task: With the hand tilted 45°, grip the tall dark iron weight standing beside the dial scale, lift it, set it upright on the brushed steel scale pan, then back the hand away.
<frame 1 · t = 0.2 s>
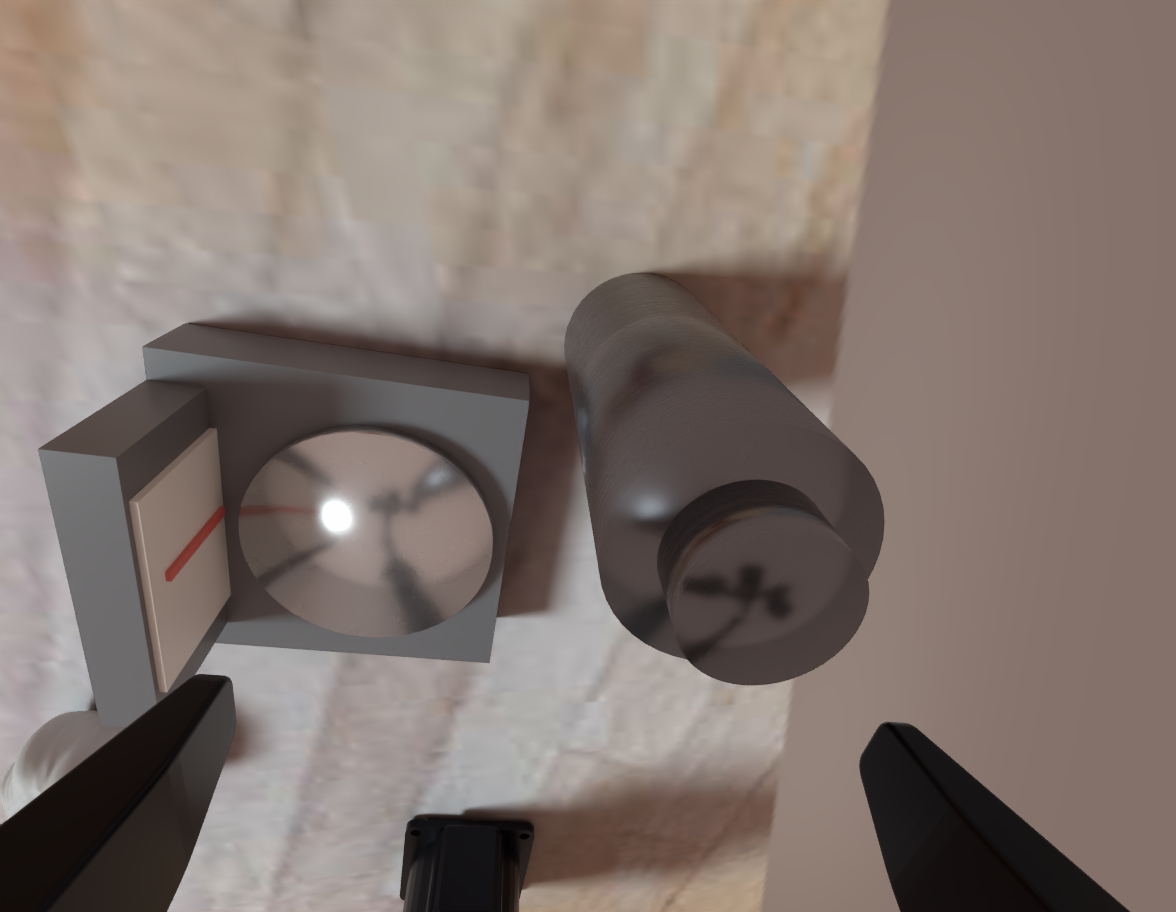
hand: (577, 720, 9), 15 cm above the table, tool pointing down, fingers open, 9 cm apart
scale pan: (371, 539, 21), point 3 cm above the table, slide at 0.2 cm
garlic: (122, 730, 28), on the table
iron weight: (637, 347, 21), on the table
scale: (360, 491, 23), on the table
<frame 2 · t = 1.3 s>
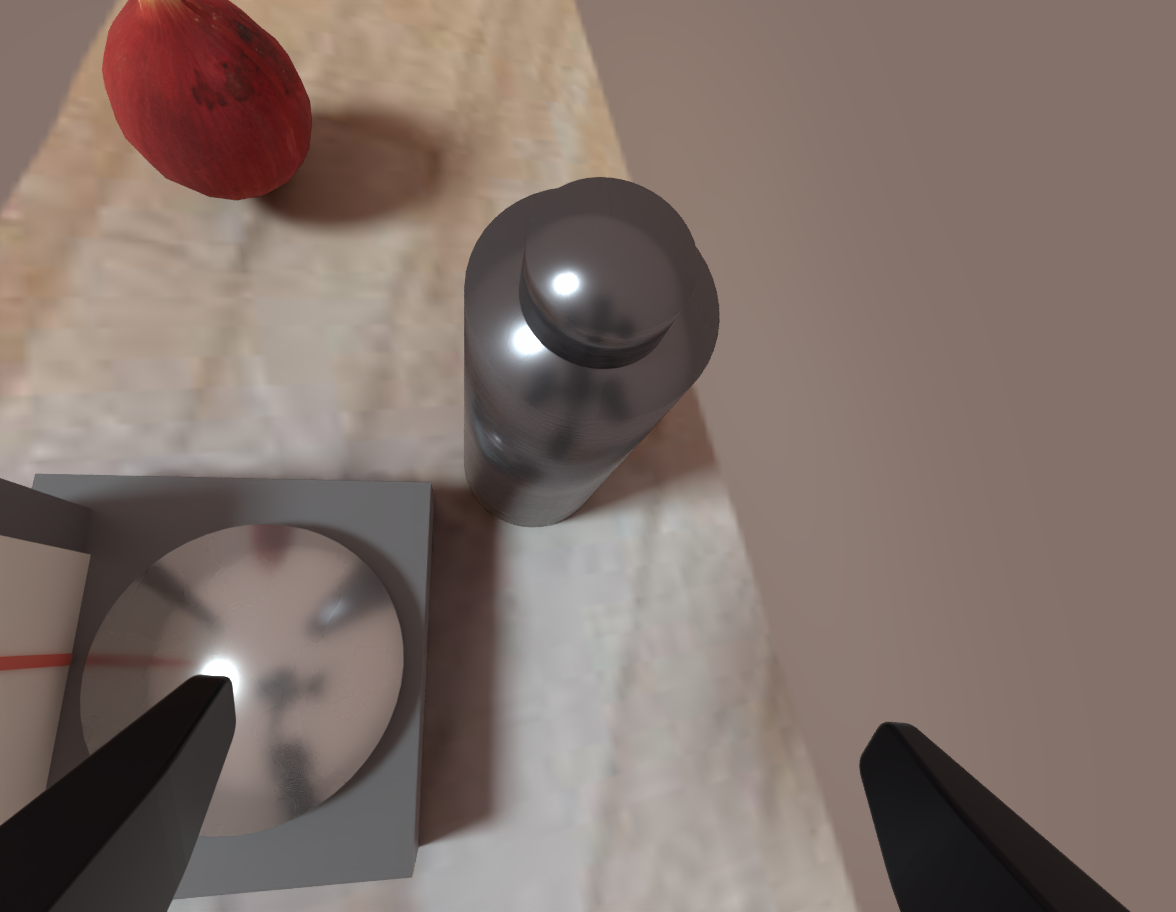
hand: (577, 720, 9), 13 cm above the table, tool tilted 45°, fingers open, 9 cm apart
scale pan: (253, 669, 17), point 3 cm above the table, slide at 0.2 cm
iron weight: (532, 460, 23), on the table
onion: (252, 183, 24), on the table
scale: (247, 665, 20), on the table
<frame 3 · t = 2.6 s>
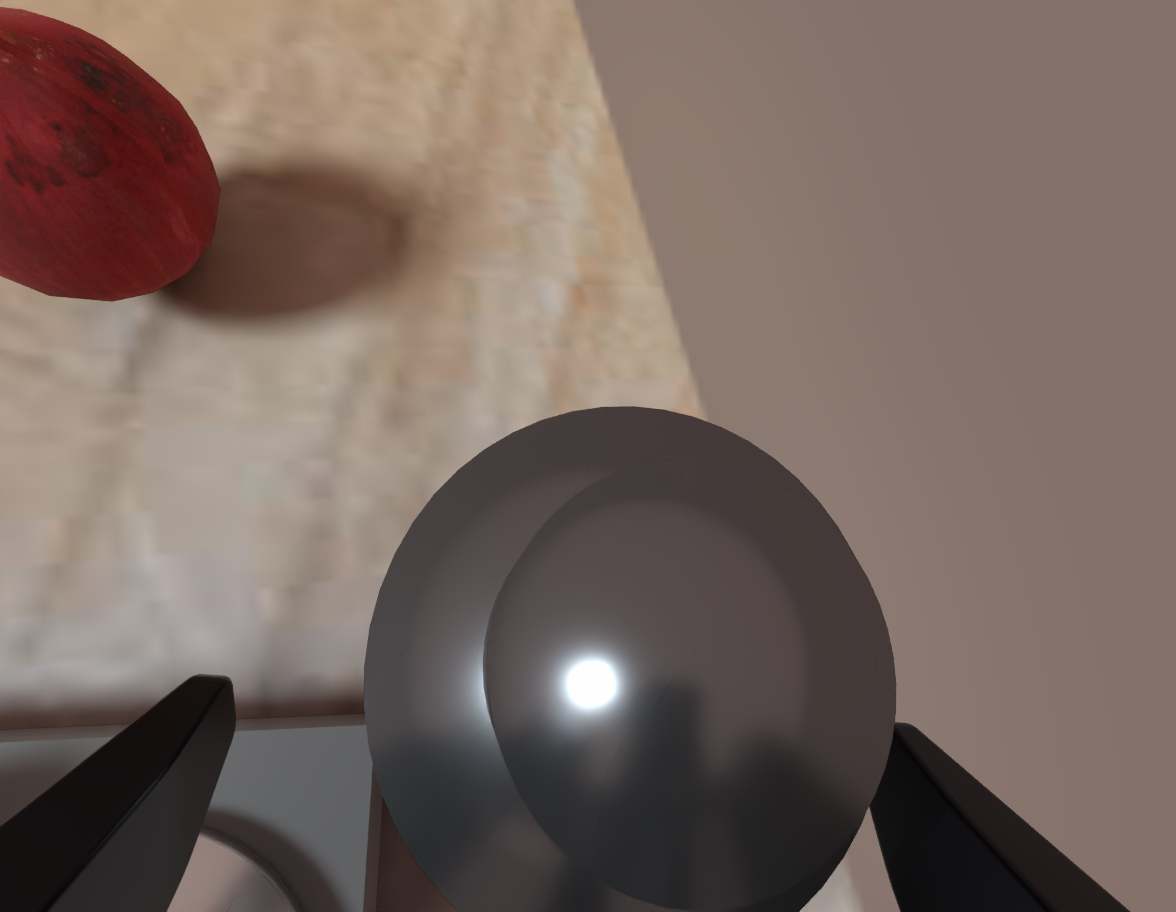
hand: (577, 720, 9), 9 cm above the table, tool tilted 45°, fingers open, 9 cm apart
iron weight: (524, 647, 17), on the table
onion: (150, 265, 18), on the table
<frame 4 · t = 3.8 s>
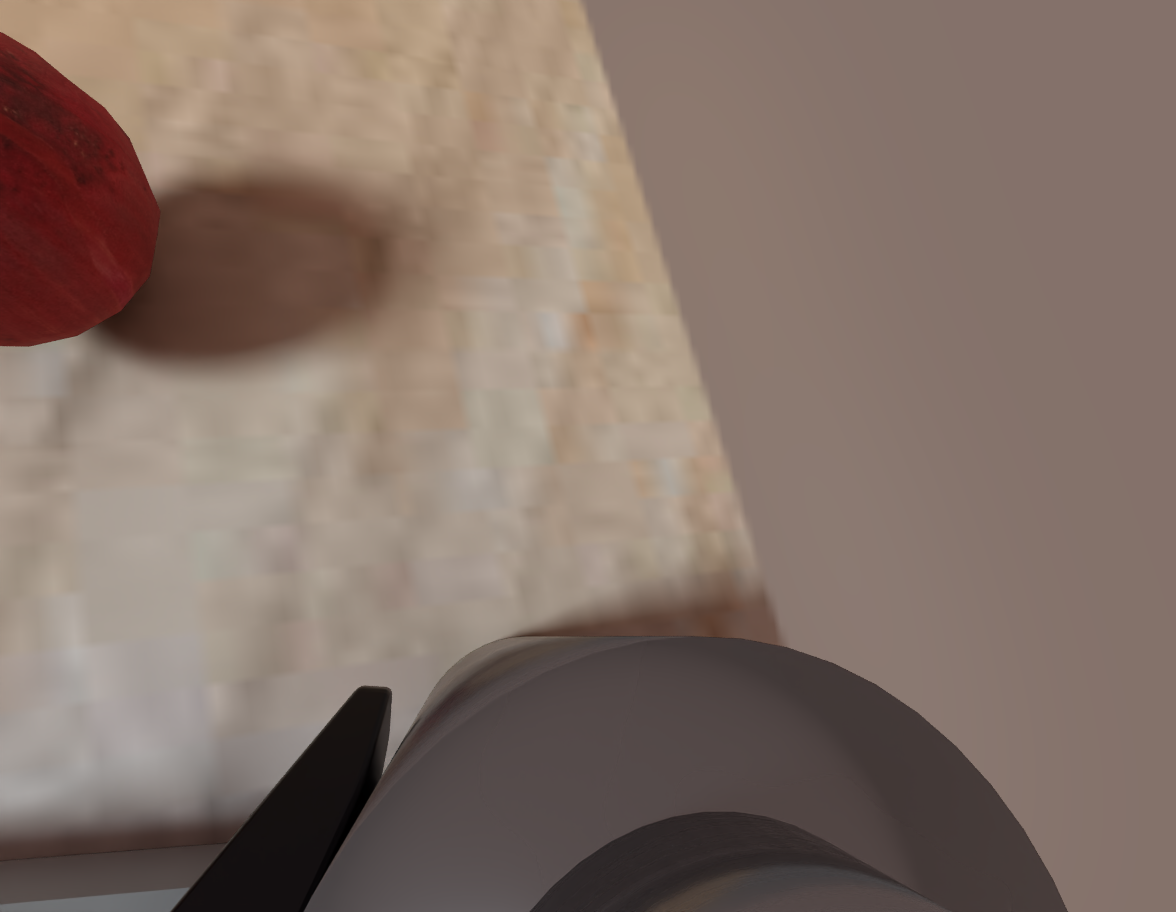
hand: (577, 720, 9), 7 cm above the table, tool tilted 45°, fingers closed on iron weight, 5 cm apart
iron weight: (522, 747, 15), on the table, touching gripper
onion: (87, 296, 16), on the table
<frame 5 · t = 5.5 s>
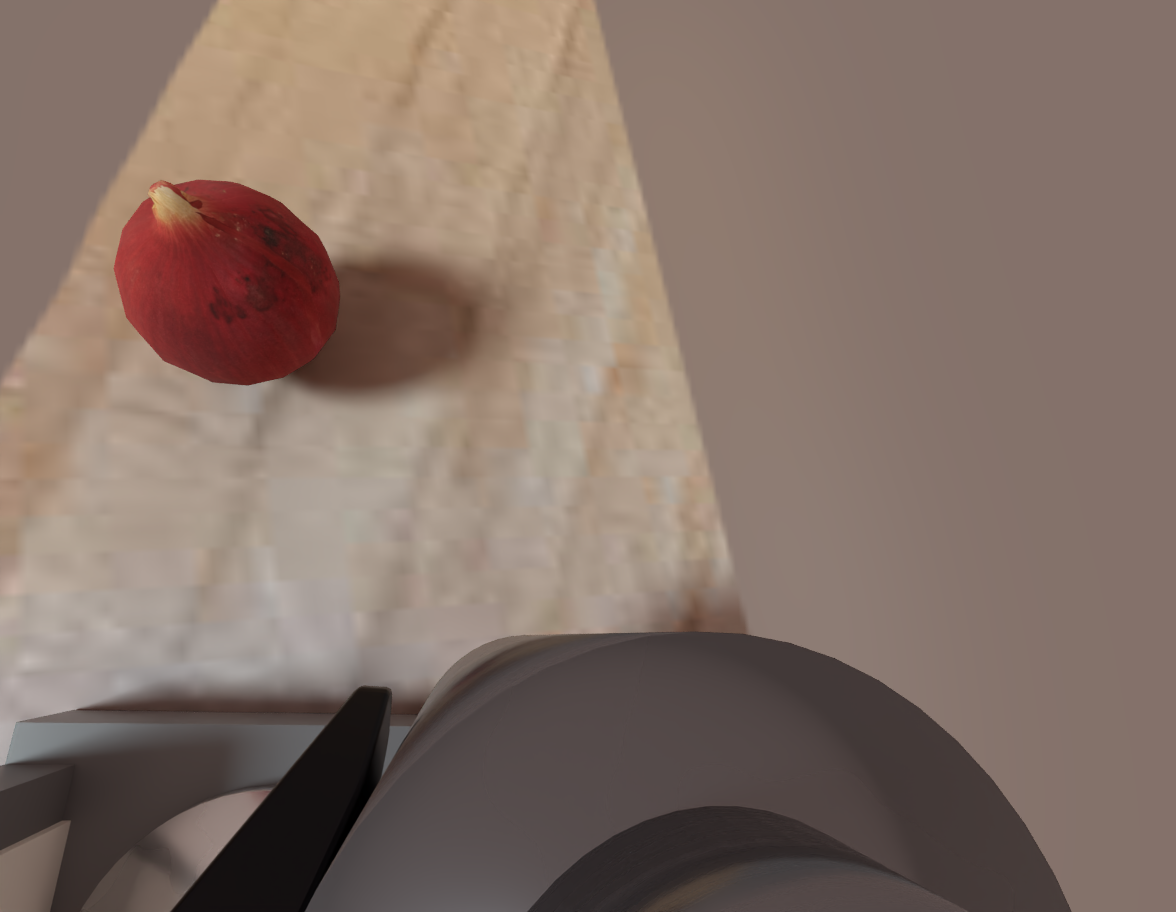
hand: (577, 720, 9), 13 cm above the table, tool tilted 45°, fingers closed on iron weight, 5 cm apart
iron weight: (523, 746, 15), point 7 cm above the table, touching gripper
onion: (272, 343, 23), on the table
when the fingers open (11 cm above the table, at t = 7.5 s): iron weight drops 1 cm, resting on scale pan.
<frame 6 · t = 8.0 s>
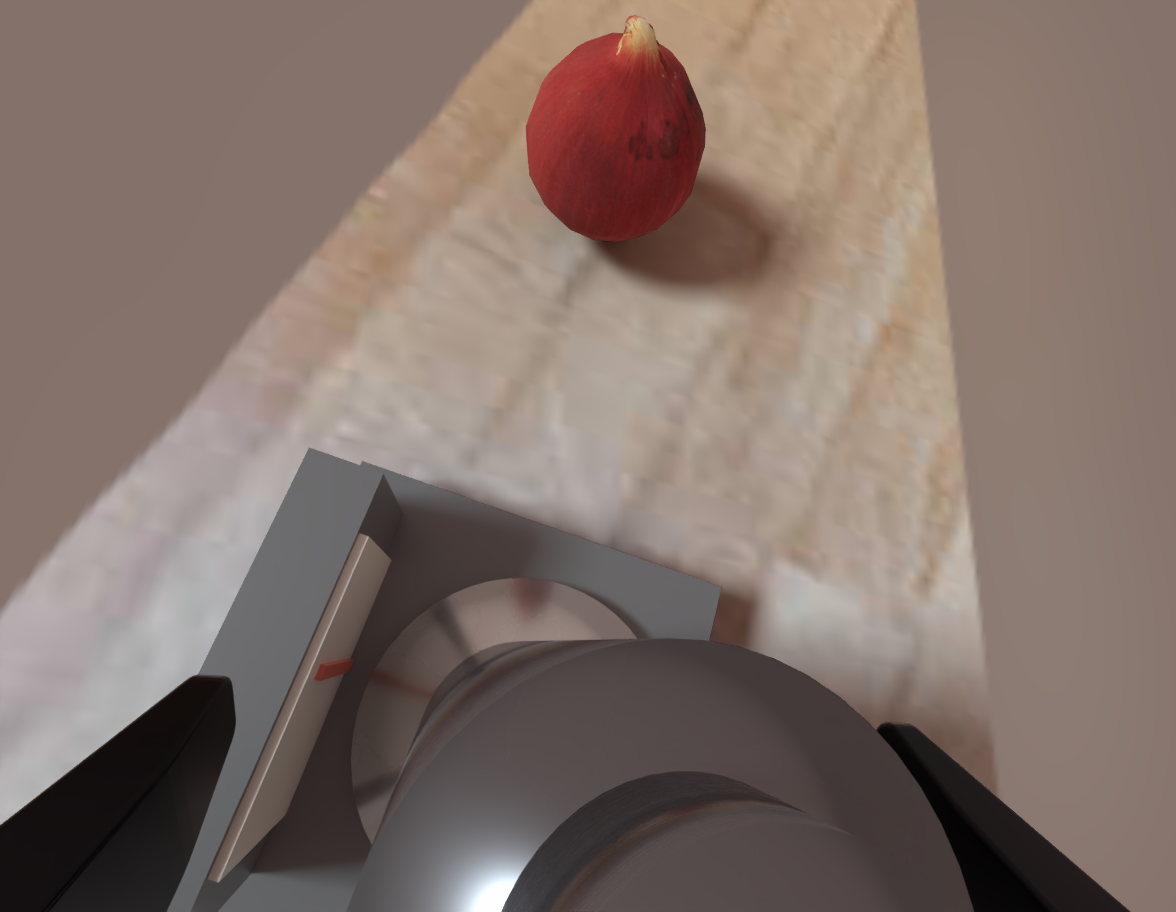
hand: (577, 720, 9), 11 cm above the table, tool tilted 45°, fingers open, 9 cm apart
scale pan: (516, 736, 16), point 3 cm above the table, slide at 0.3 cm, touching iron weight
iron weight: (518, 744, 16), point 3 cm above the table, touching scale pan
onion: (591, 220, 24), on the table
scale: (477, 712, 19), on the table
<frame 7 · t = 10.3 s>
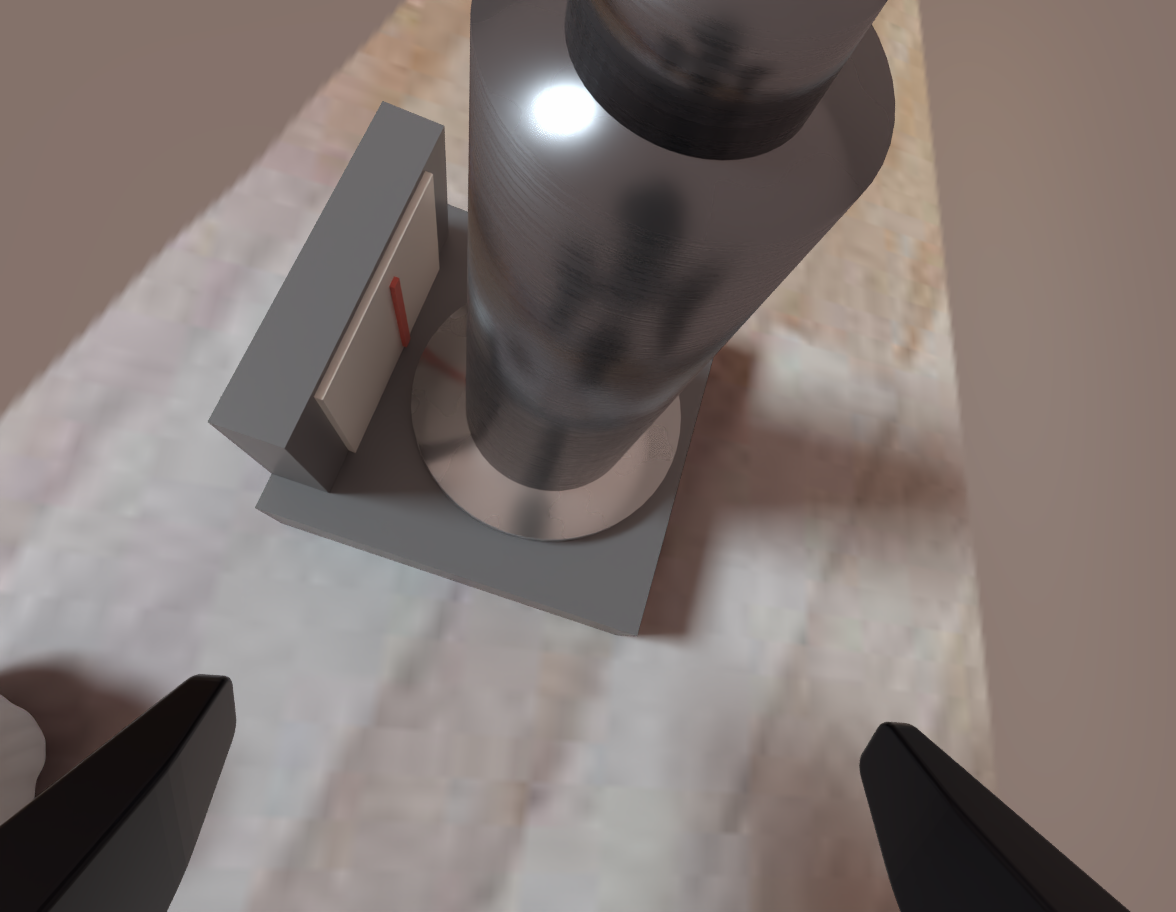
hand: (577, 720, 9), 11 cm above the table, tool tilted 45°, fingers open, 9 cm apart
scale pan: (550, 407, 19), point 3 cm above the table, slide at 0.3 cm, touching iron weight
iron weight: (552, 408, 18), point 3 cm above the table, touching scale pan
scale: (511, 424, 21), on the table
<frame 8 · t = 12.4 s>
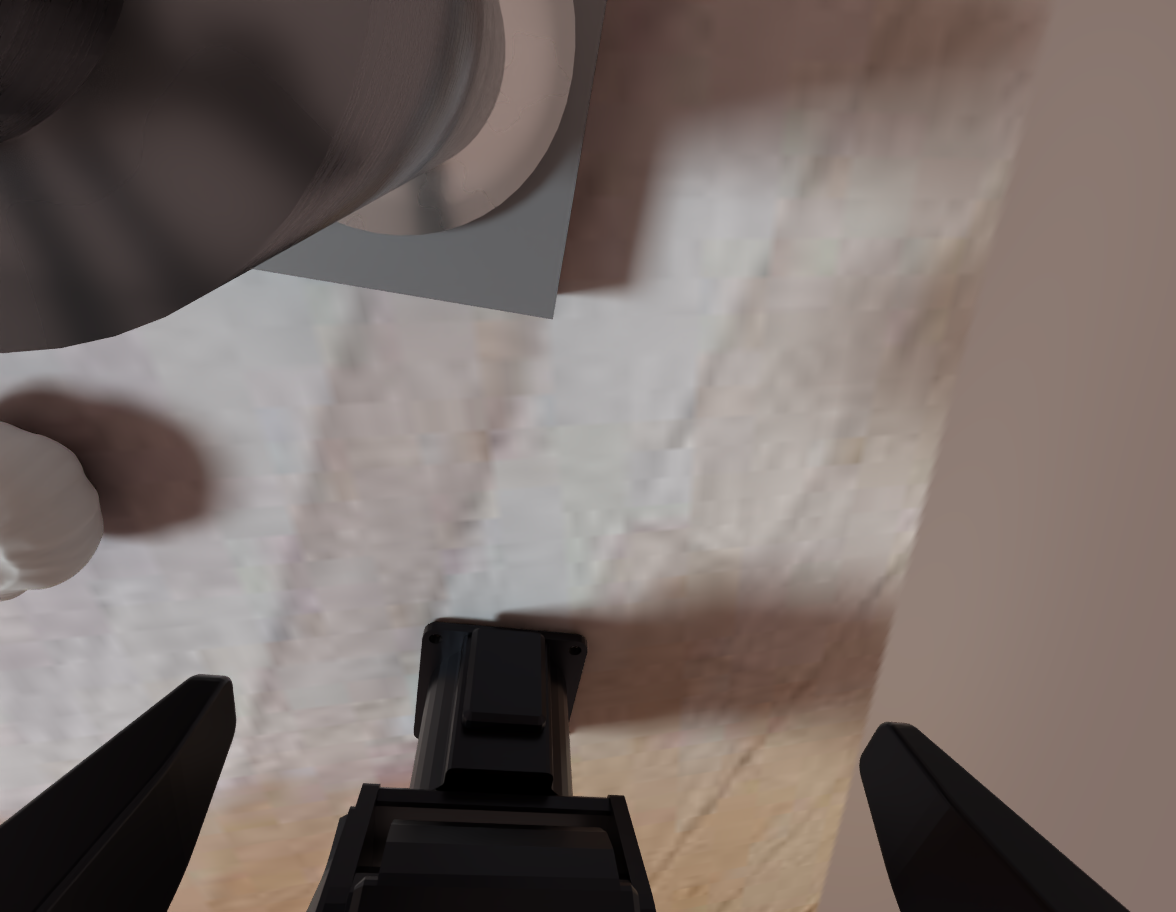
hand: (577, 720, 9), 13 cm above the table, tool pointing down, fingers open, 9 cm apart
scale pan: (383, 32, 13), point 3 cm above the table, slide at 0.3 cm, touching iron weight
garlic: (40, 467, 20), on the table
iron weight: (383, 39, 13), point 3 cm above the table, touching scale pan
scale: (365, 35, 15), on the table
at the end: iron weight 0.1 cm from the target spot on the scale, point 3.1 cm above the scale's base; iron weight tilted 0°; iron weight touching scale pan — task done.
